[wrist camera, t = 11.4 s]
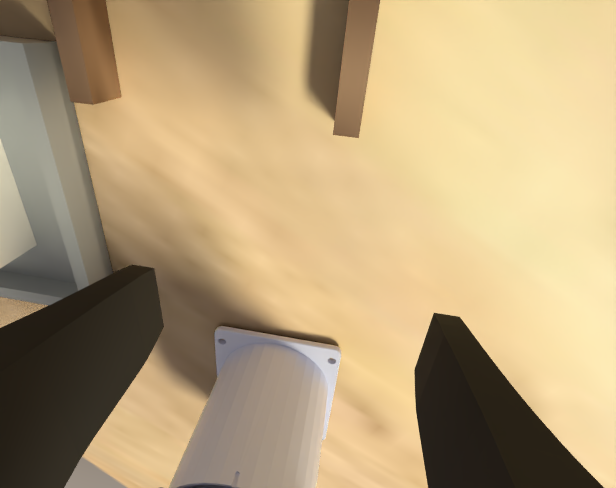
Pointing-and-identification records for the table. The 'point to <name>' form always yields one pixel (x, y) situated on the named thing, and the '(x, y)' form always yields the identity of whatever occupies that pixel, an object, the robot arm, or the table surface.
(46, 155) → the grey tray
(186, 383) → the table surface
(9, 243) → the beige rectangular block
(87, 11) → the walnut dock
